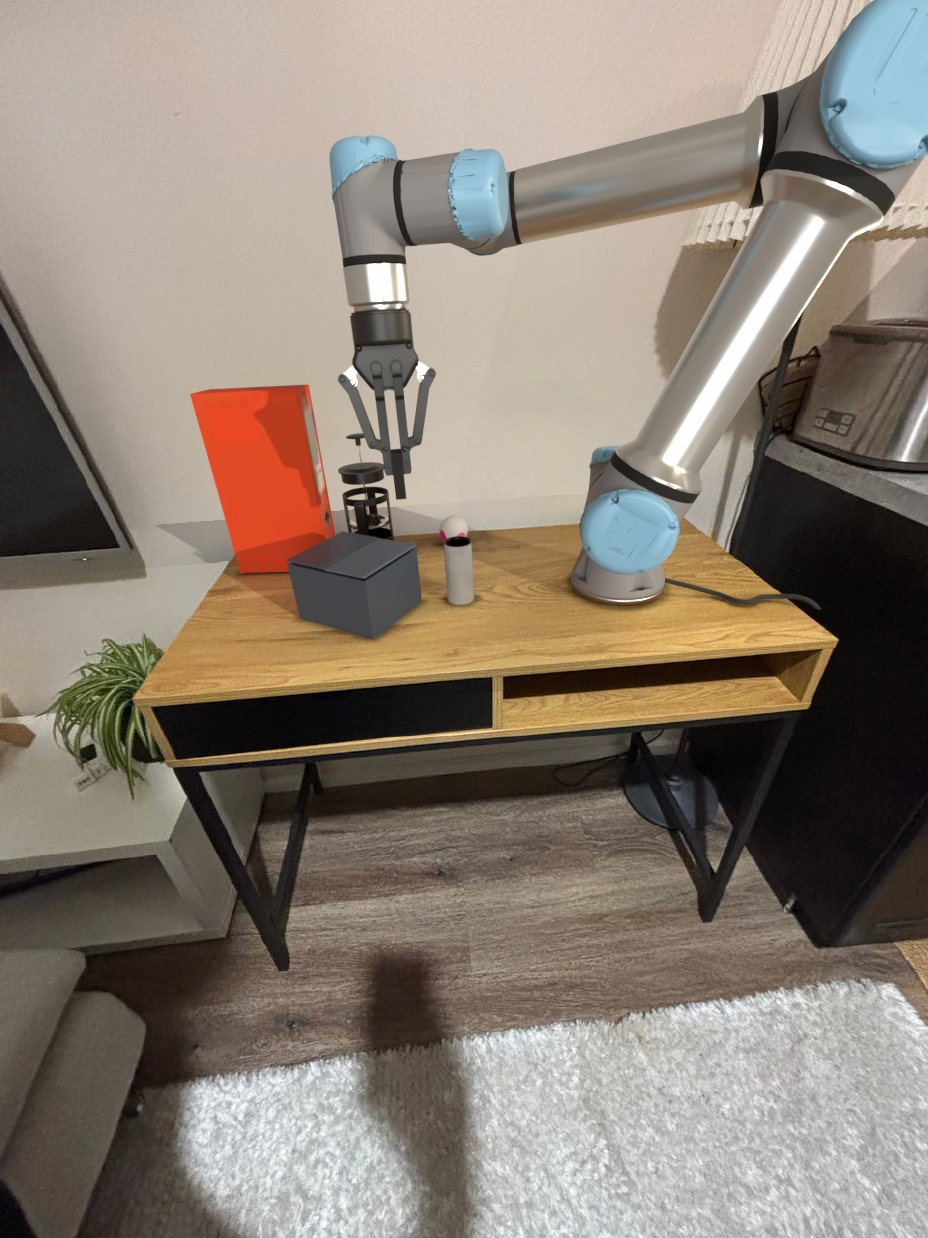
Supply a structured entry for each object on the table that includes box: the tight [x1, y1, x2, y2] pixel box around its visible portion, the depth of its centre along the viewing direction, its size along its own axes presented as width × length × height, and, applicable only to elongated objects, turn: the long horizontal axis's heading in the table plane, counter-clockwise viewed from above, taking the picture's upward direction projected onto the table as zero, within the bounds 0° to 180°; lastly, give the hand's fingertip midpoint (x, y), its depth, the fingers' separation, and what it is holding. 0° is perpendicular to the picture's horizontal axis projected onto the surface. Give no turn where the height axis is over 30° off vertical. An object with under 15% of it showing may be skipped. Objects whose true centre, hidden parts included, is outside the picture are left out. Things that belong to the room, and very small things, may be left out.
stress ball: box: [437, 514, 469, 545], centre depth 107 cm, size 8×8×7 cm
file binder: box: [190, 384, 336, 574], centre depth 94 cm, size 8×17×32 cm, turn 90°
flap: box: [324, 538, 417, 579], centre depth 78 cm, size 7×13×1 cm, turn 151°
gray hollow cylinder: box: [443, 536, 475, 606], centre depth 83 cm, size 4×4×10 cm
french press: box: [337, 432, 395, 541], centre depth 100 cm, size 12×9×23 cm
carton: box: [287, 531, 423, 640], centre depth 82 cm, size 15×13×10 cm
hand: (401, 496), depth 75 cm, fingers closed
